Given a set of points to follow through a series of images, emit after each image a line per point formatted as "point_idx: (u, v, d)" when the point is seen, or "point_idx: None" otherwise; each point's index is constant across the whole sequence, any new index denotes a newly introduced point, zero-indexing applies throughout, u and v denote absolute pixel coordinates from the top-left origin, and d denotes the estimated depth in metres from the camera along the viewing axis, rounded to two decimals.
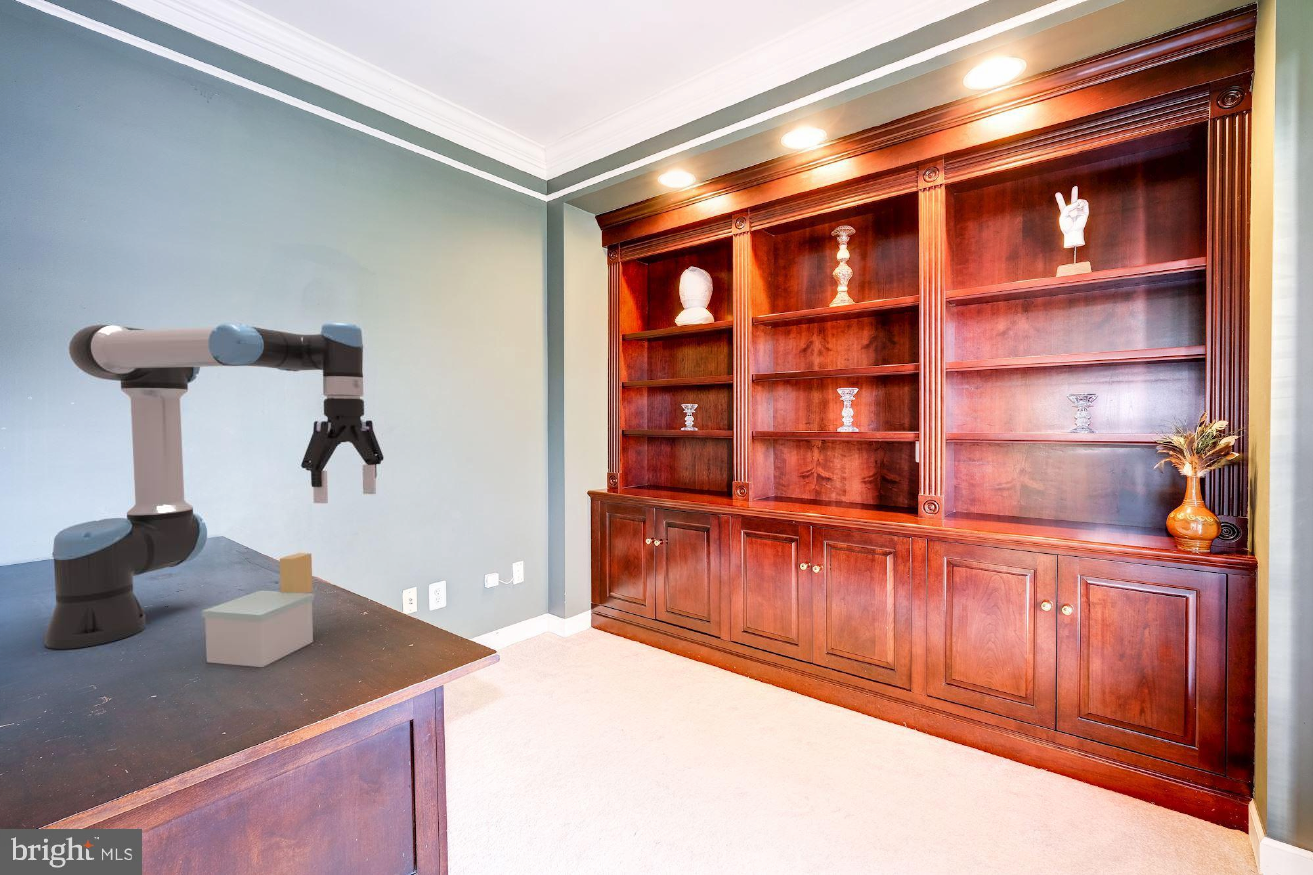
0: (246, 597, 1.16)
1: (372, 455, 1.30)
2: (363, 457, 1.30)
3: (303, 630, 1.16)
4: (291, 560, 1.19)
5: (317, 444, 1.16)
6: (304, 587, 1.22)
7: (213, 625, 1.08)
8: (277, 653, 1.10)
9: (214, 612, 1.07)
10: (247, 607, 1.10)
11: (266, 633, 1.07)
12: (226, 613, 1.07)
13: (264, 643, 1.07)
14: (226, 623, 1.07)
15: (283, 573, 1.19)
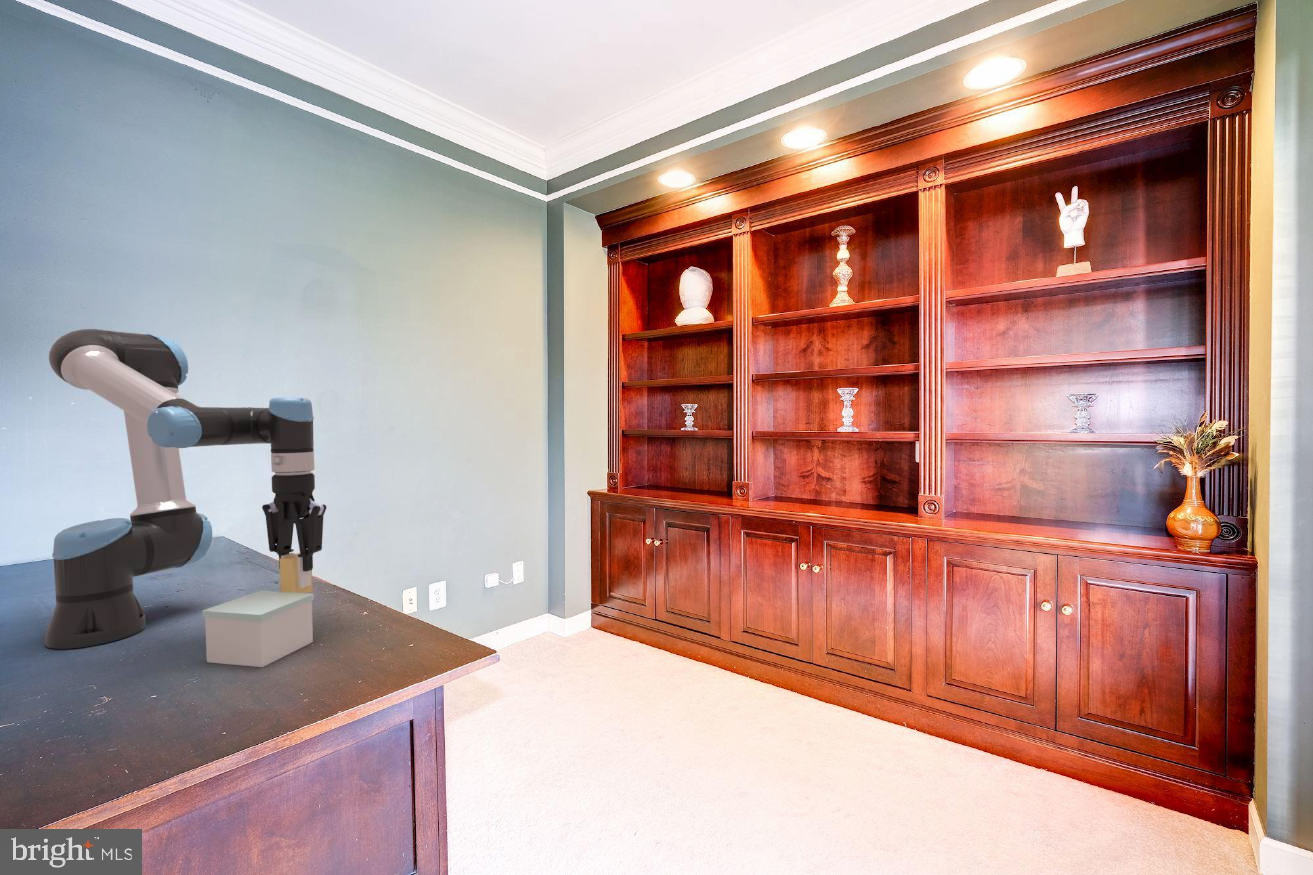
0: (246, 597, 1.16)
1: (301, 544, 1.19)
2: None
3: (303, 630, 1.16)
4: (291, 560, 1.19)
5: None
6: (304, 587, 1.22)
7: (213, 625, 1.08)
8: (277, 653, 1.10)
9: (214, 612, 1.07)
10: (247, 607, 1.10)
11: (266, 633, 1.07)
12: (226, 613, 1.07)
13: (264, 643, 1.07)
14: (226, 623, 1.07)
15: (283, 573, 1.19)
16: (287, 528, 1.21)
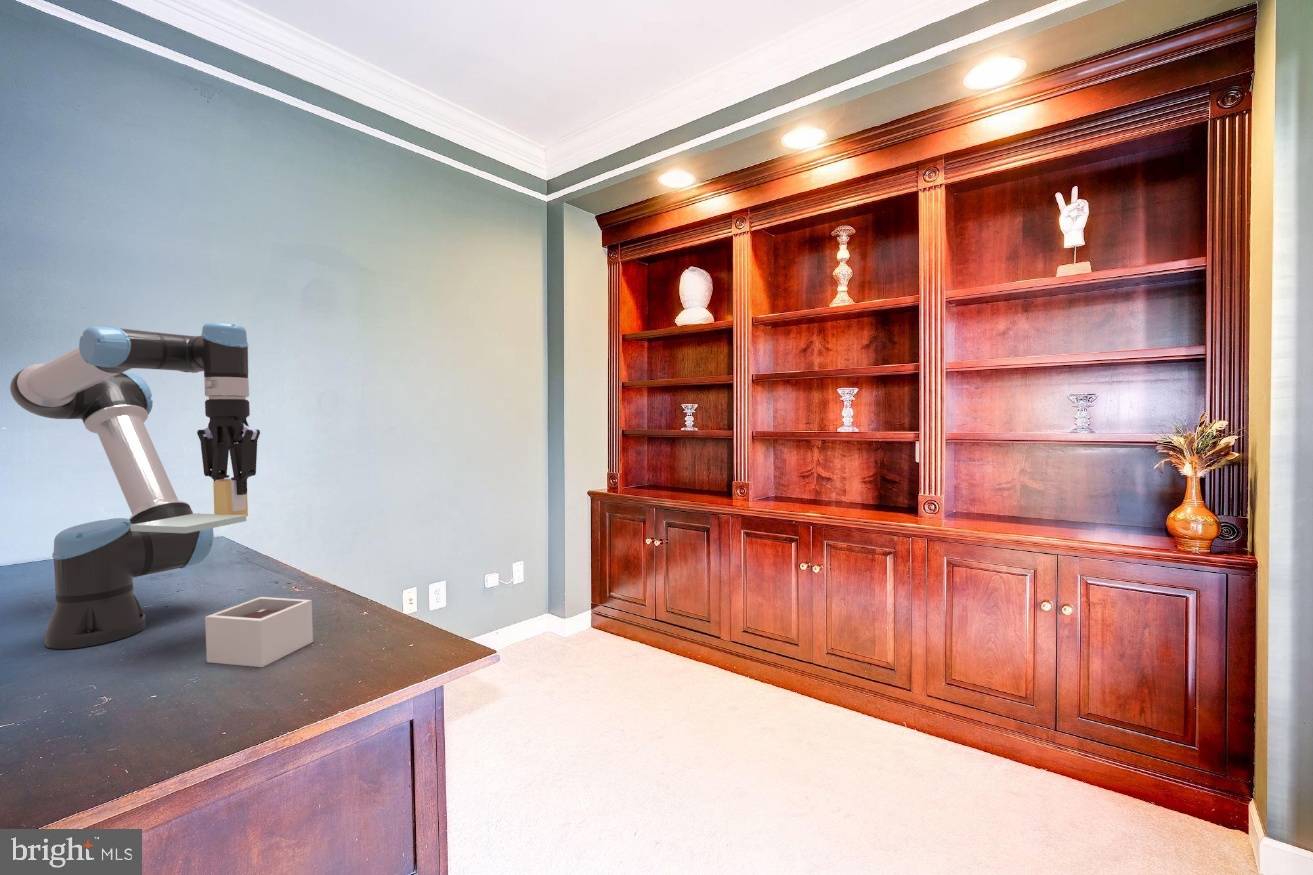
0: (178, 517, 1.18)
1: (234, 468, 1.22)
2: None
3: (303, 630, 1.16)
4: (224, 482, 1.21)
5: None
6: (238, 511, 1.24)
7: (213, 625, 1.08)
8: (277, 653, 1.10)
9: (142, 526, 1.10)
10: (175, 522, 1.12)
11: (266, 633, 1.07)
12: (153, 526, 1.09)
13: (264, 643, 1.07)
14: (226, 623, 1.07)
15: (216, 496, 1.21)
16: (221, 453, 1.23)
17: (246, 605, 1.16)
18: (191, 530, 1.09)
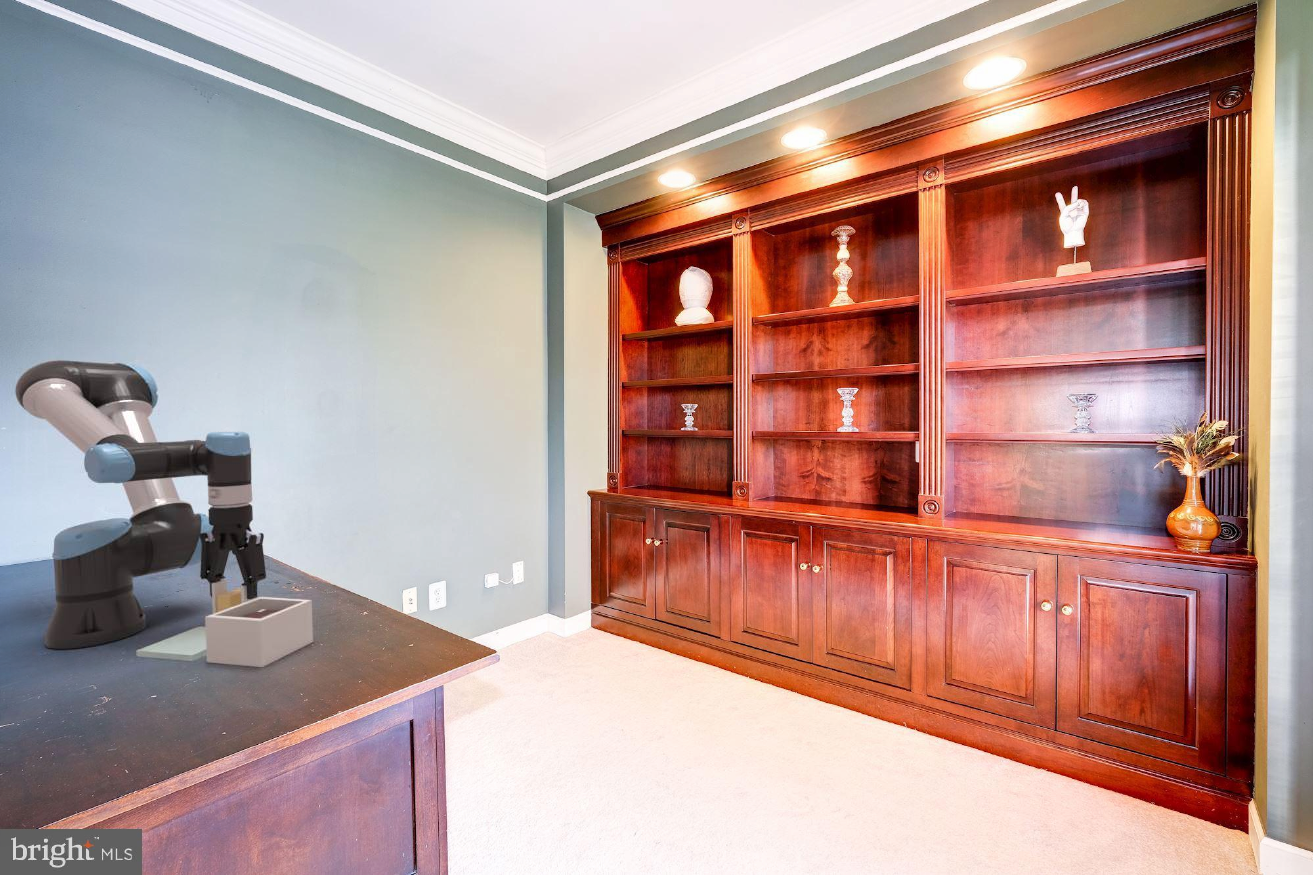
0: (183, 634, 1.19)
1: (243, 573, 1.22)
2: None
3: (303, 630, 1.16)
4: (228, 597, 1.22)
5: None
6: None
7: (213, 625, 1.08)
8: (277, 653, 1.10)
9: (148, 652, 1.11)
10: (181, 646, 1.13)
11: (266, 633, 1.07)
12: (159, 653, 1.10)
13: (264, 643, 1.07)
14: (226, 623, 1.07)
15: (221, 610, 1.22)
16: (221, 558, 1.24)
17: (246, 605, 1.16)
18: (197, 657, 1.10)
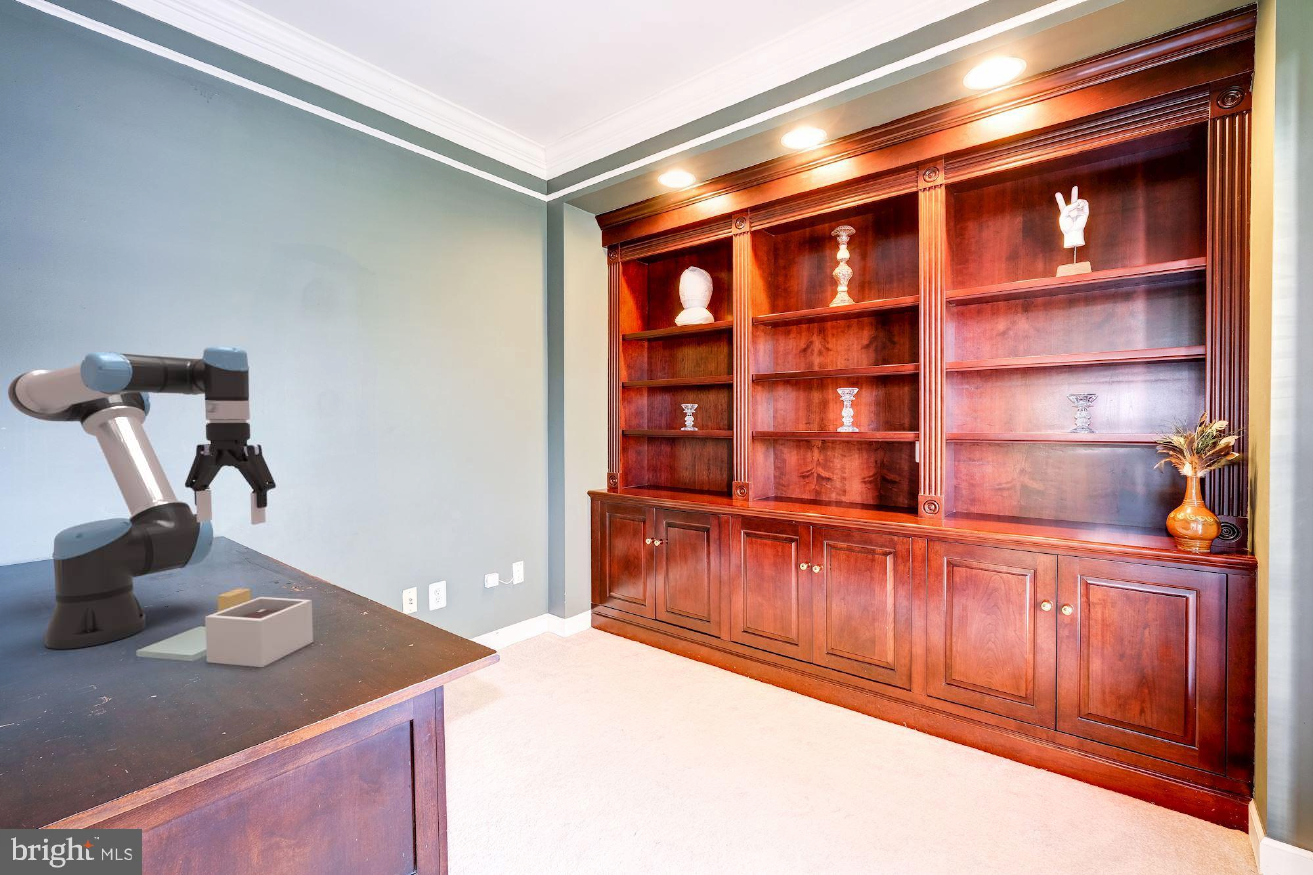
0: (183, 634, 1.19)
1: (251, 482, 1.21)
2: None
3: (303, 630, 1.16)
4: (228, 597, 1.22)
5: None
6: None
7: (213, 625, 1.08)
8: (277, 653, 1.10)
9: (148, 652, 1.11)
10: (181, 646, 1.13)
11: (266, 633, 1.07)
12: (159, 653, 1.10)
13: (264, 643, 1.07)
14: (226, 623, 1.07)
15: (221, 610, 1.22)
16: (212, 472, 1.24)
17: (246, 605, 1.16)
18: (197, 657, 1.10)
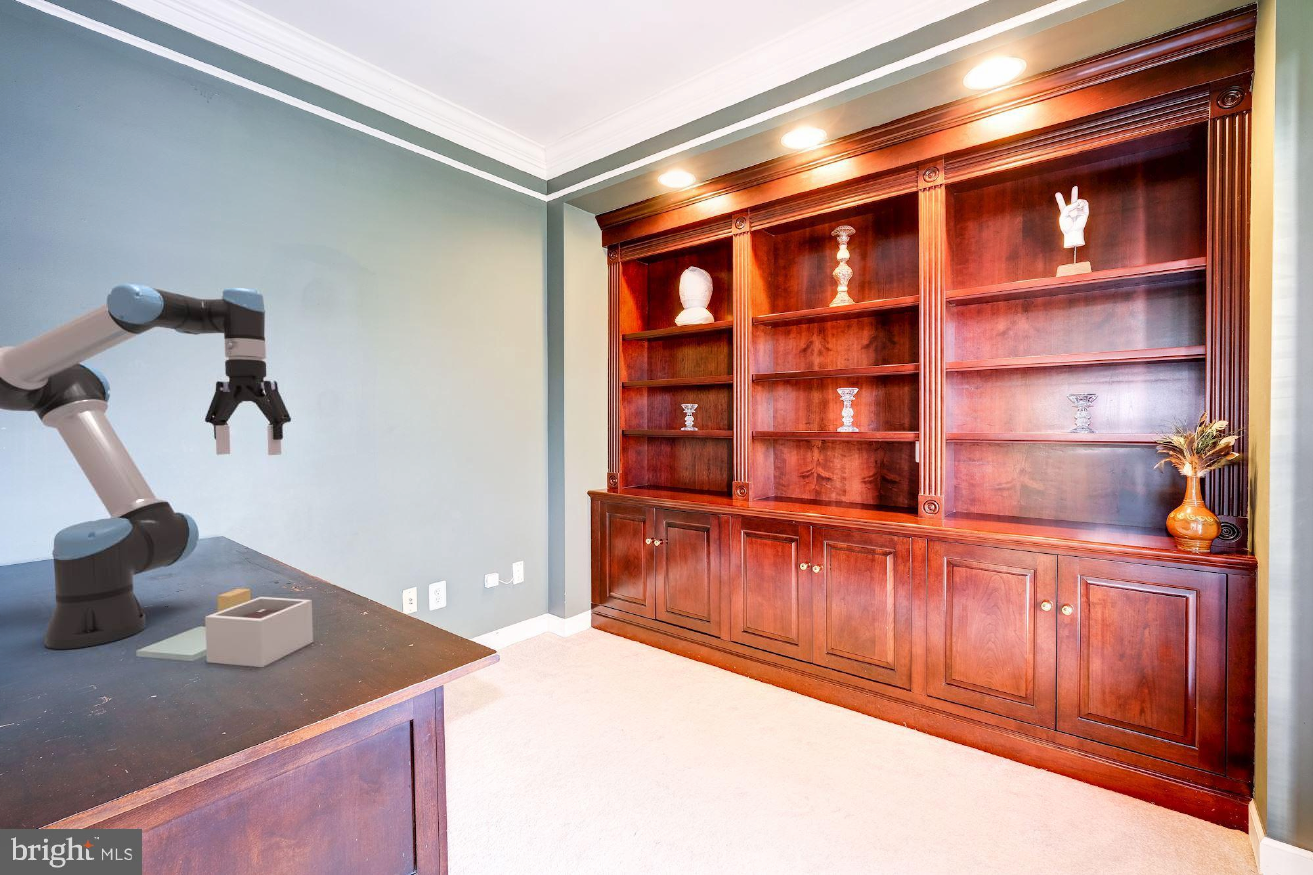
0: (183, 634, 1.19)
1: (268, 416, 1.29)
2: None
3: (303, 630, 1.16)
4: (228, 597, 1.22)
5: None
6: None
7: (213, 625, 1.08)
8: (277, 653, 1.10)
9: (148, 652, 1.11)
10: (181, 646, 1.13)
11: (266, 633, 1.07)
12: (159, 653, 1.10)
13: (264, 643, 1.07)
14: (226, 623, 1.07)
15: (221, 610, 1.22)
16: (230, 407, 1.32)
17: (246, 605, 1.16)
18: (197, 657, 1.10)
